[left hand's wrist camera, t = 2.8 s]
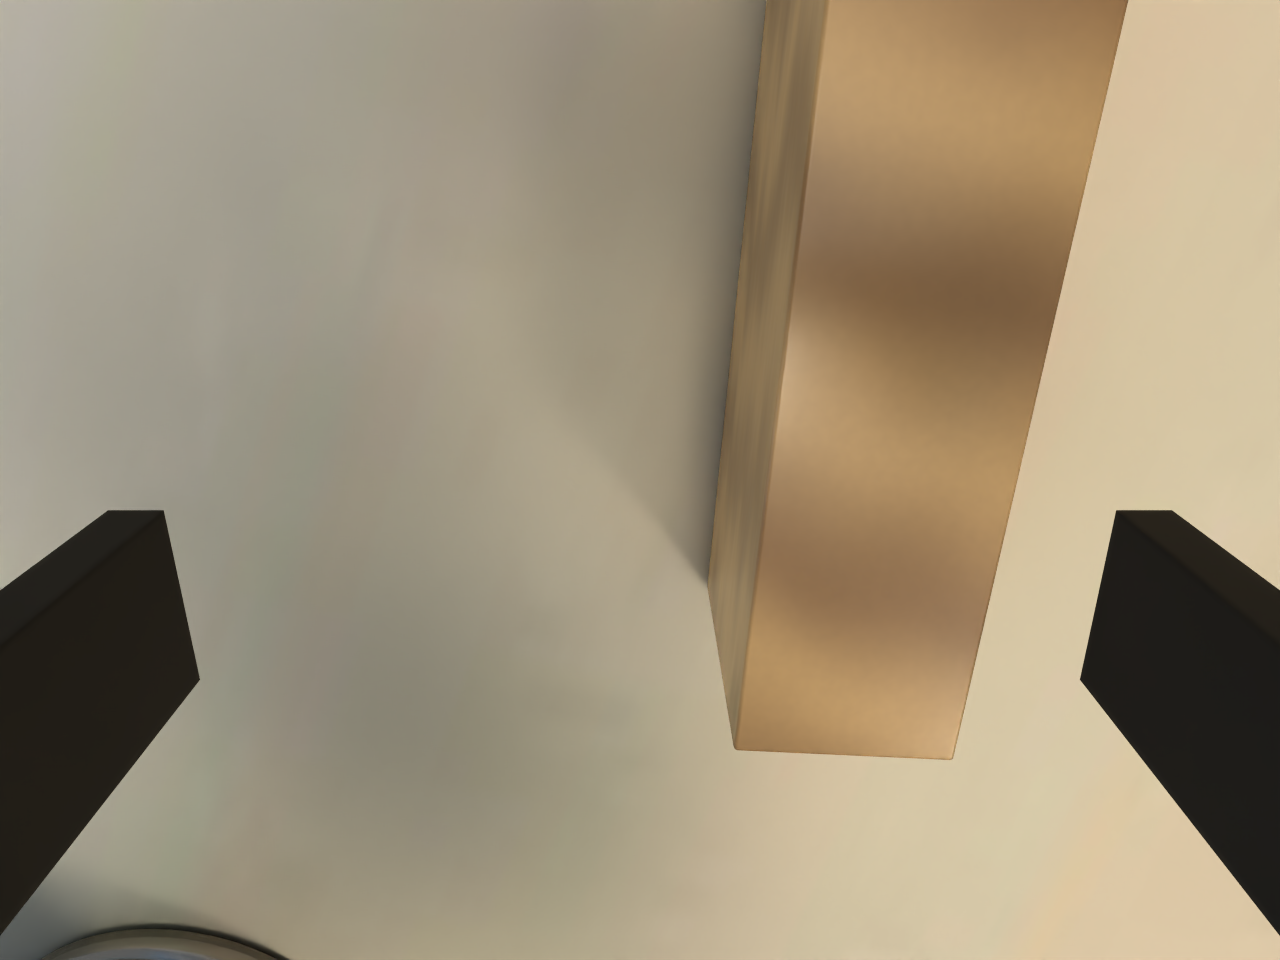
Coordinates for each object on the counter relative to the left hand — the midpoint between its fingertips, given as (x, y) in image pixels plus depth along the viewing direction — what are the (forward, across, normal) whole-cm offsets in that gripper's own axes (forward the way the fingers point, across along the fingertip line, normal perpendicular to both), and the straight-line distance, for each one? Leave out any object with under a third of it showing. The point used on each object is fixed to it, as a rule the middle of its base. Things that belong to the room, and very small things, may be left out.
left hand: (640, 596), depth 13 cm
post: (+16, -8, -32) cm, 36 cm away
